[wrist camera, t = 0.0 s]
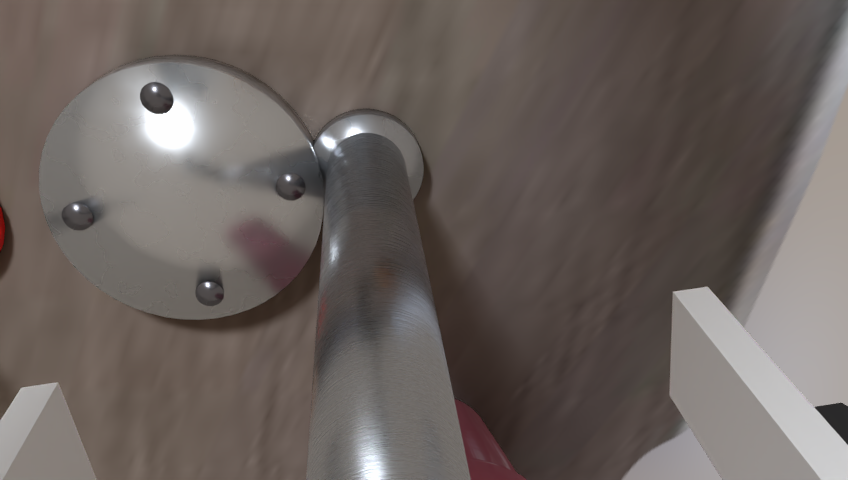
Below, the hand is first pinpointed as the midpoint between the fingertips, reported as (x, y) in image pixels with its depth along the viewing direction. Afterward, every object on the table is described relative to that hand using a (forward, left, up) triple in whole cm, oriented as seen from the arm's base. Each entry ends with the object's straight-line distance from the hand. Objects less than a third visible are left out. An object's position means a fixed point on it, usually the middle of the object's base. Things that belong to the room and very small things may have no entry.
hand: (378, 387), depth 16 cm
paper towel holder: (+5, -7, -28) cm, 29 cm away
